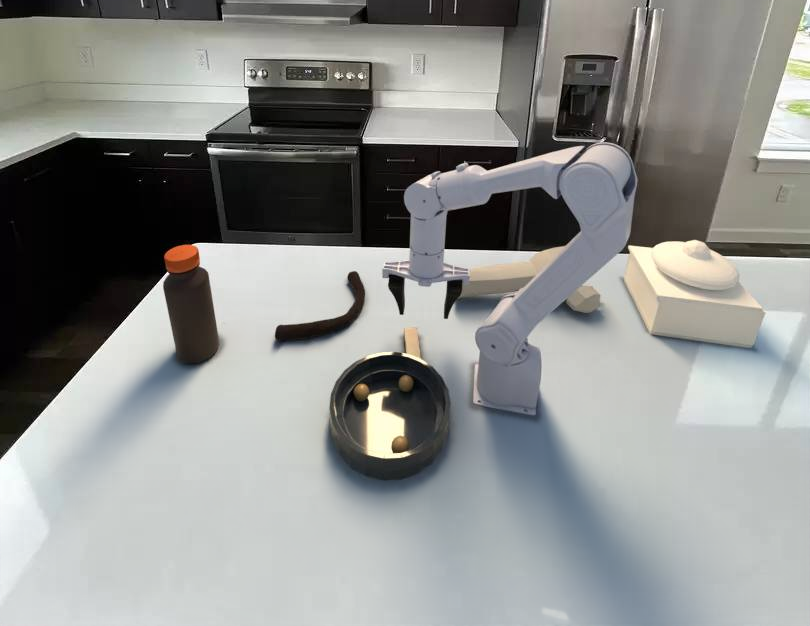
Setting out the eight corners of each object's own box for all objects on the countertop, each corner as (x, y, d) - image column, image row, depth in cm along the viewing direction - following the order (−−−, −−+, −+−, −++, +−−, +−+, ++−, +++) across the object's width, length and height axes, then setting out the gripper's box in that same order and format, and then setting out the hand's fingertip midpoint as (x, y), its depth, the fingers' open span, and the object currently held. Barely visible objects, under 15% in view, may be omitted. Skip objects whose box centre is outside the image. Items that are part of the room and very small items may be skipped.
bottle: (199, 370, 71) (181, 268, 64) (168, 358, 73) (146, 259, 66) (228, 341, 77) (213, 246, 70) (198, 331, 79) (181, 238, 72)
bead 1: (361, 380, 66) (351, 383, 67) (359, 397, 64) (349, 400, 65) (373, 384, 67) (363, 387, 68) (371, 401, 65) (361, 404, 66)
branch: (309, 366, 72) (308, 351, 71) (270, 341, 77) (269, 327, 76) (388, 293, 91) (389, 280, 90) (353, 277, 96) (353, 265, 95)
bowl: (453, 382, 70) (455, 361, 68) (441, 496, 54) (443, 471, 52) (351, 364, 73) (351, 344, 71) (312, 466, 57) (310, 443, 55)
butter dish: (751, 348, 79) (780, 276, 73) (647, 333, 82) (667, 263, 76) (706, 289, 95) (726, 226, 89) (620, 278, 98) (635, 217, 92)
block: (403, 338, 79) (403, 328, 78) (416, 337, 79) (416, 327, 78) (406, 373, 71) (407, 362, 71) (421, 373, 72) (421, 362, 71)
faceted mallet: (580, 278, 97) (588, 236, 94) (605, 321, 84) (615, 273, 81) (449, 273, 98) (452, 231, 94) (453, 315, 85) (457, 268, 81)
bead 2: (417, 388, 66) (415, 383, 69) (409, 374, 67) (407, 370, 69) (404, 397, 66) (403, 392, 68) (396, 383, 66) (395, 379, 69)
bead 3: (403, 433, 60) (411, 451, 59) (388, 442, 59) (396, 461, 58) (403, 431, 58) (412, 449, 57) (388, 440, 57) (396, 460, 56)
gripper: (379, 255, 67) (379, 325, 71) (472, 263, 65) (466, 333, 70) (386, 233, 73) (385, 298, 78) (470, 239, 72) (465, 304, 77)
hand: (423, 313), depth 74 cm, fingers open, 7 cm apart
